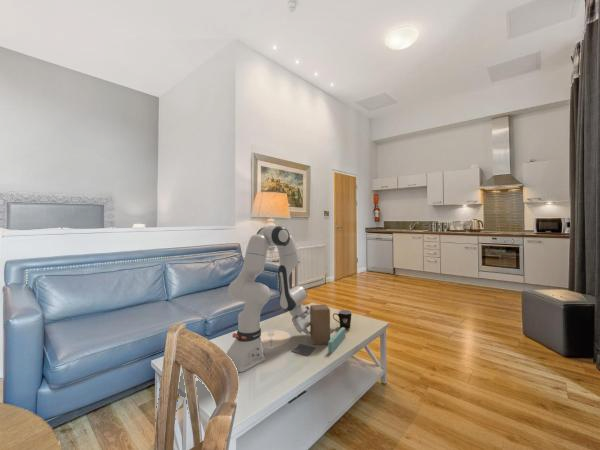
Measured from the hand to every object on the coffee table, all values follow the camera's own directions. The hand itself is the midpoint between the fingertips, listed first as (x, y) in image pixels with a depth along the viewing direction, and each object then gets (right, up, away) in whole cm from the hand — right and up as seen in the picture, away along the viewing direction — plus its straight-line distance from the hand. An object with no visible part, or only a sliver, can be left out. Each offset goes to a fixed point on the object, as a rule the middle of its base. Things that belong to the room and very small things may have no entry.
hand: (314, 332), depth 162 cm
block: (+3, -5, -2) cm, 6 cm away
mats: (0, -4, 0) cm, 4 cm away
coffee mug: (+20, -4, +20) cm, 29 cm away
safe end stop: (+13, -4, -7) cm, 15 cm away
